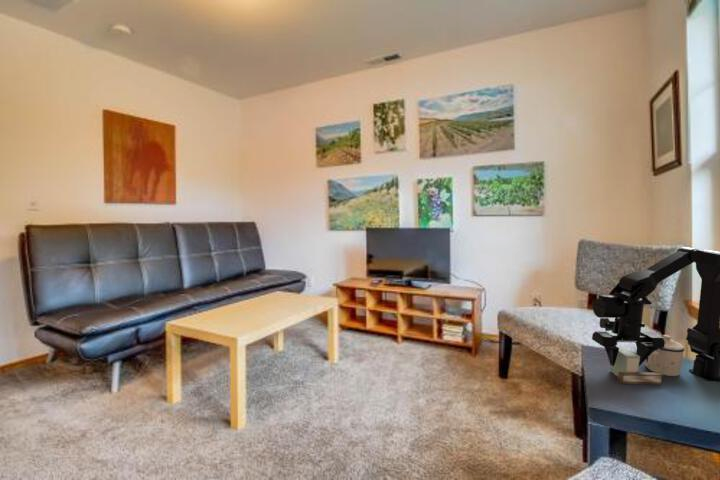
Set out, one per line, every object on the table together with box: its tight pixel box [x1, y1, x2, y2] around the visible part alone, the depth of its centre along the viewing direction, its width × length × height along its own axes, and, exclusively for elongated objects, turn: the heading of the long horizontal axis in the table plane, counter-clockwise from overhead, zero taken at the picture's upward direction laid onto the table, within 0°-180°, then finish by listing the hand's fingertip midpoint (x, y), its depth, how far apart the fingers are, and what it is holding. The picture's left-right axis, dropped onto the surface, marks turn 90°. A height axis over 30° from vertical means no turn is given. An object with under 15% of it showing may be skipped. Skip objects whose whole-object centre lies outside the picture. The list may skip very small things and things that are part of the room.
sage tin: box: [610, 347, 640, 377], centre depth 114 cm, size 4×6×8 cm, turn 0°
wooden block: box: [617, 371, 663, 385], centre depth 110 cm, size 12×2×3 cm, turn 90°
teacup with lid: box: [645, 334, 685, 377], centre depth 117 cm, size 12×9×12 cm
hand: (624, 365), depth 114 cm, fingers open, 8 cm apart
